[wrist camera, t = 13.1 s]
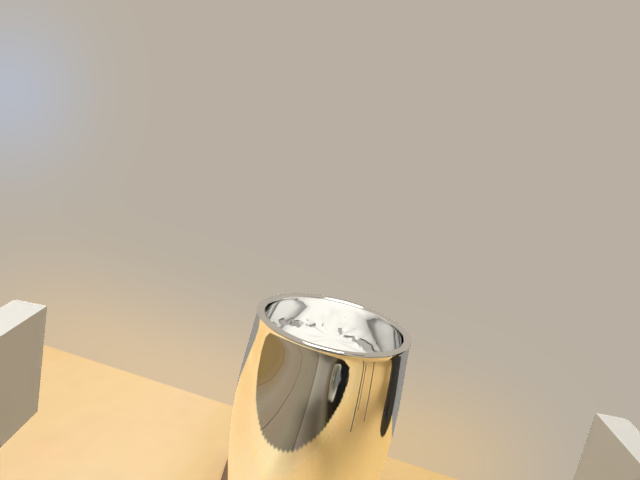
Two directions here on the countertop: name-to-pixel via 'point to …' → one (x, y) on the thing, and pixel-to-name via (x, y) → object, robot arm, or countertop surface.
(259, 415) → the beer glass
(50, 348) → the countertop surface
